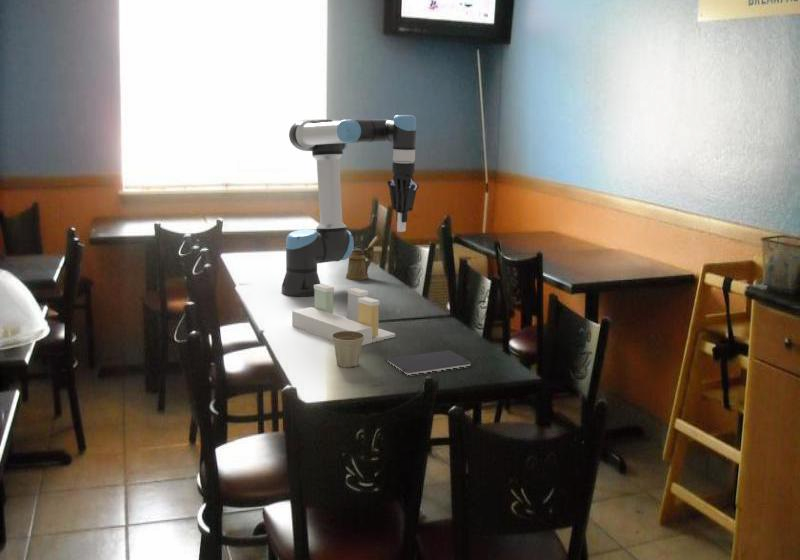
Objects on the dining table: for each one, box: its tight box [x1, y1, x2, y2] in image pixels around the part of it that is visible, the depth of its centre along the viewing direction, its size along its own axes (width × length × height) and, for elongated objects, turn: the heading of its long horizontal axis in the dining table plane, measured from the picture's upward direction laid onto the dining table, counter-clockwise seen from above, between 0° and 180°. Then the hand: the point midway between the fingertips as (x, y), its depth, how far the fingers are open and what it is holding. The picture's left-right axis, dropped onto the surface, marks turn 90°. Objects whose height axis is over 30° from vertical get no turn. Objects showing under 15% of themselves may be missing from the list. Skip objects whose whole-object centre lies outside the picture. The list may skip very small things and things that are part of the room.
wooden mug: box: [345, 234, 380, 281], centre depth 337 cm, size 9×14×18 cm, turn 99°
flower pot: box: [331, 331, 365, 368], centre depth 232 cm, size 9×9×9 cm
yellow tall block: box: [358, 296, 381, 337], centre depth 255 cm, size 3×6×11 cm, turn 44°
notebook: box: [386, 350, 472, 376], centre depth 235 cm, size 13×2×21 cm
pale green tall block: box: [313, 283, 335, 314], centre depth 270 cm, size 3×6×11 cm, turn 44°
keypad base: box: [291, 306, 396, 346], centre depth 263 cm, size 18×30×5 cm, turn 44°
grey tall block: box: [346, 287, 369, 322], centre depth 266 cm, size 3×6×11 cm, turn 44°
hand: (401, 231), depth 280 cm, fingers closed
